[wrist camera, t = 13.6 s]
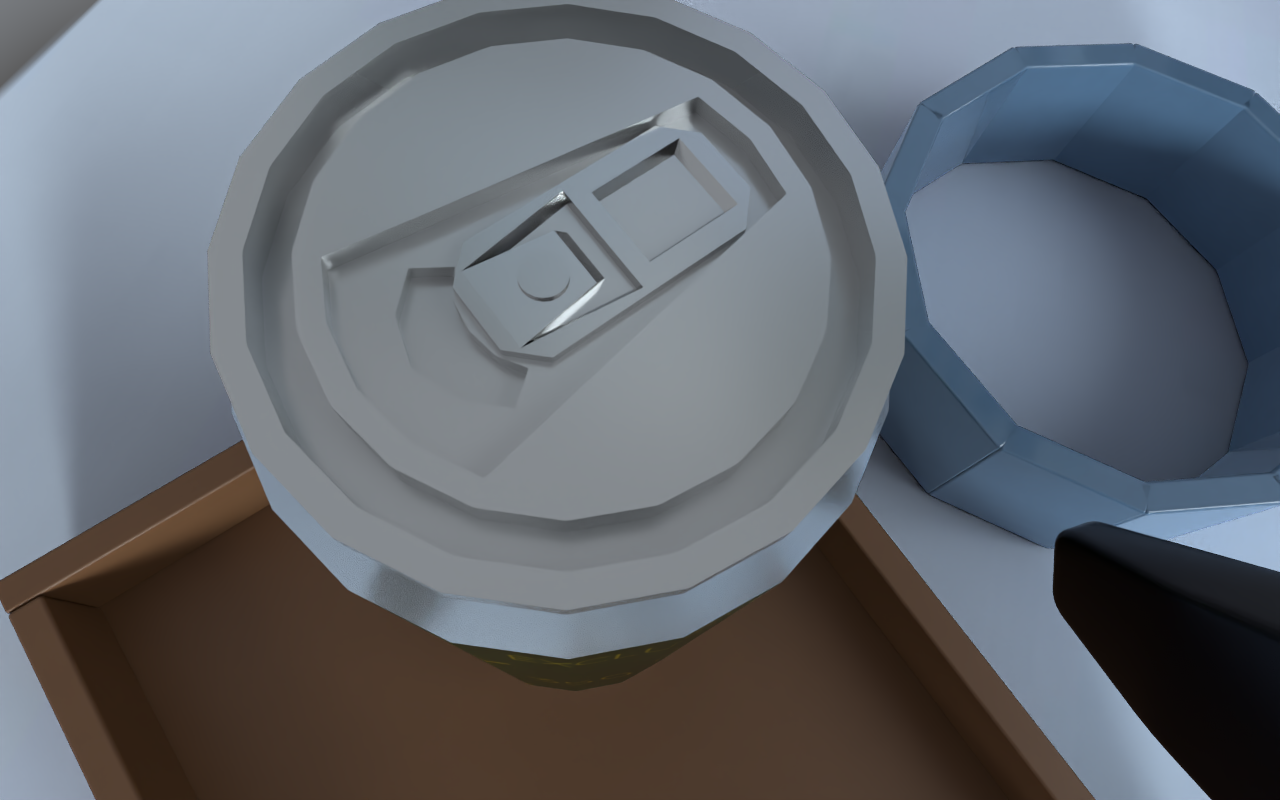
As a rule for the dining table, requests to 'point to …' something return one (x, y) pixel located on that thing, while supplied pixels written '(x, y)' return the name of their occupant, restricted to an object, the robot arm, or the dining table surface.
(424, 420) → the beer can
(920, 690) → the tray
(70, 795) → the dining table surface
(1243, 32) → the dining table surface
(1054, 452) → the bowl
